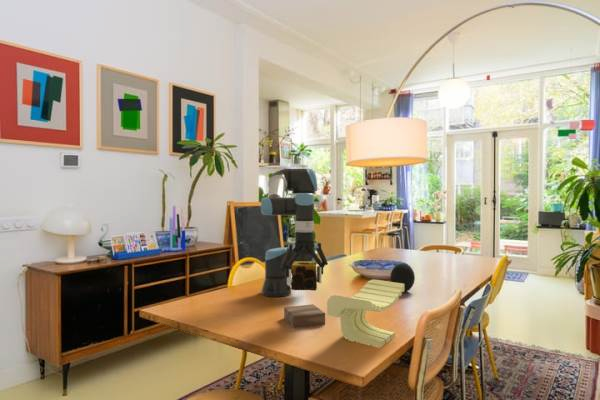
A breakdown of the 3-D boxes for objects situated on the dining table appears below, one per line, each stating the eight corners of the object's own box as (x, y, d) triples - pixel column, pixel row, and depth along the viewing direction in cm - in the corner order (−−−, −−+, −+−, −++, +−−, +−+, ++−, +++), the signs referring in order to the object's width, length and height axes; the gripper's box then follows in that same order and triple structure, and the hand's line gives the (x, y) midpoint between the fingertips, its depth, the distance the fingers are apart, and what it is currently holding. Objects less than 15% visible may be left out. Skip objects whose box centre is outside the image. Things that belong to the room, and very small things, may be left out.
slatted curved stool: (366, 322, 161) (366, 278, 161) (404, 330, 152) (404, 283, 151) (326, 345, 137) (327, 293, 136) (369, 356, 127) (369, 301, 127)
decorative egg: (390, 288, 218) (390, 261, 217) (413, 289, 215) (413, 261, 215) (390, 294, 205) (390, 265, 205) (415, 295, 203) (415, 266, 203)
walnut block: (284, 319, 166) (284, 307, 165) (313, 316, 170) (313, 304, 170) (294, 329, 153) (294, 316, 153) (325, 325, 158) (325, 313, 158)
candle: (316, 291, 156) (316, 265, 156) (290, 290, 157) (290, 265, 157) (317, 285, 167) (317, 261, 166) (293, 284, 167) (293, 260, 167)
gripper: (278, 233, 153) (278, 288, 153) (336, 231, 162) (335, 283, 162) (272, 231, 160) (272, 284, 160) (327, 229, 169) (327, 279, 169)
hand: (304, 284), depth 161 cm, fingers closed on candle, 12 cm apart
